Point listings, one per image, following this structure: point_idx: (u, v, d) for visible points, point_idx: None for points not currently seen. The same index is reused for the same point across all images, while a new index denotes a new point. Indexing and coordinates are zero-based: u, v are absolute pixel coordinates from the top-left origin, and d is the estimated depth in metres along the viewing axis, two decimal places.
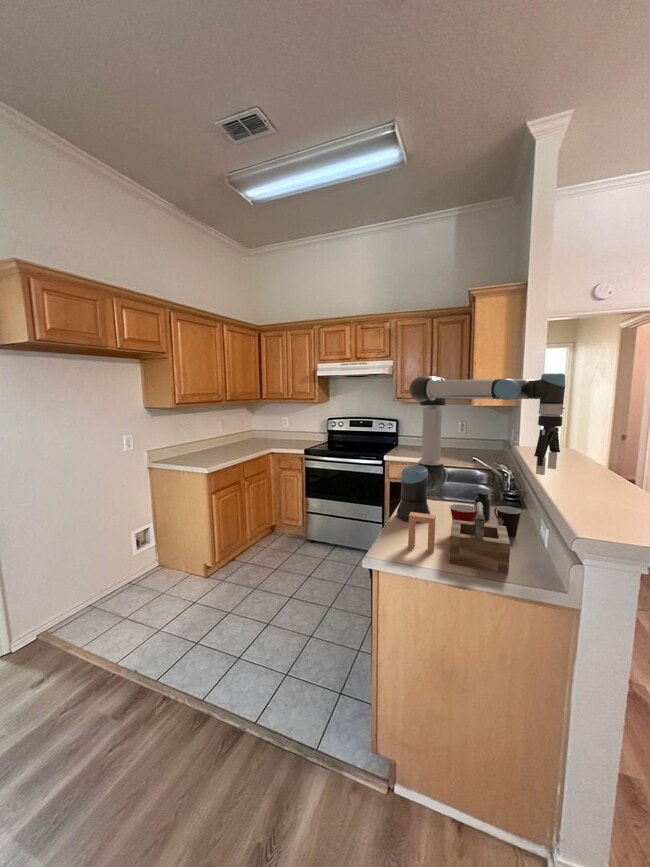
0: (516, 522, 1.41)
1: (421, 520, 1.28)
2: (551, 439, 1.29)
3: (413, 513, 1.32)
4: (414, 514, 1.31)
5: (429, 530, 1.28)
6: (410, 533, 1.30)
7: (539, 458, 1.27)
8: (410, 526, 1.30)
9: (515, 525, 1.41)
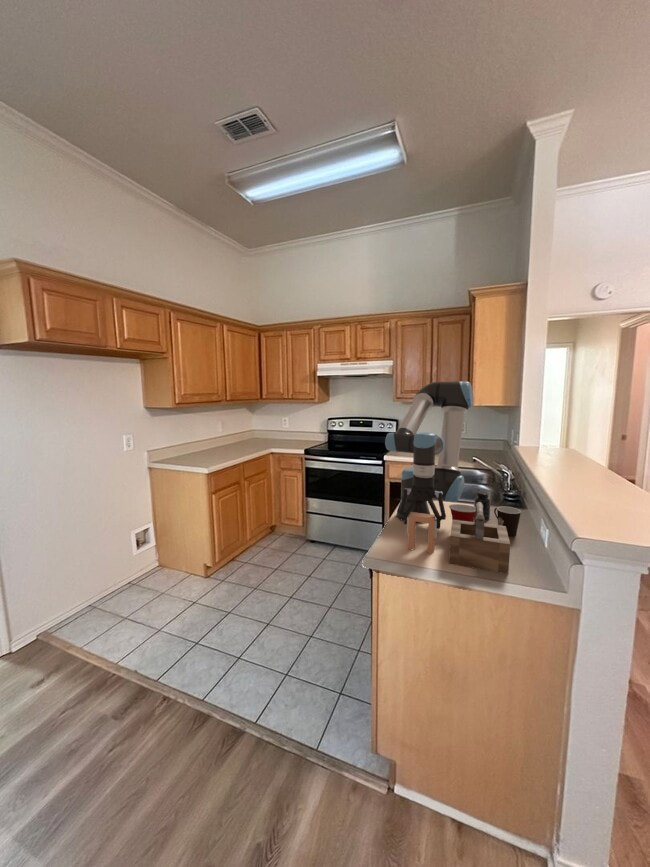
0: (516, 522, 1.41)
1: (421, 520, 1.28)
2: (415, 499, 1.29)
3: (413, 513, 1.32)
4: (414, 514, 1.31)
5: (429, 530, 1.28)
6: (410, 533, 1.30)
7: None
8: (410, 526, 1.30)
9: (515, 525, 1.41)
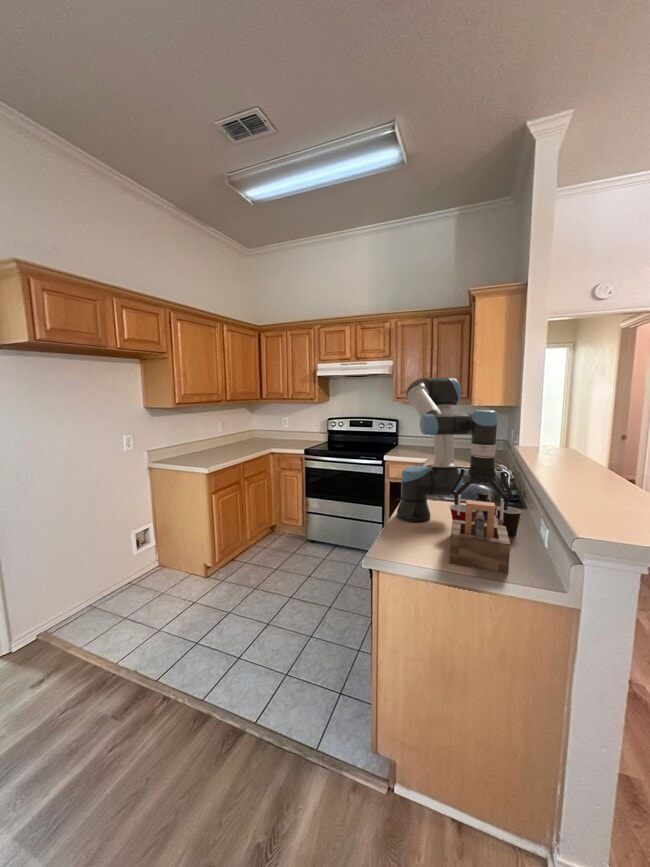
0: (516, 522, 1.41)
1: (480, 508, 1.20)
2: (472, 480, 1.20)
3: (470, 501, 1.23)
4: (471, 502, 1.22)
5: (489, 519, 1.19)
6: (467, 522, 1.22)
7: None
8: (467, 515, 1.22)
9: (515, 525, 1.41)
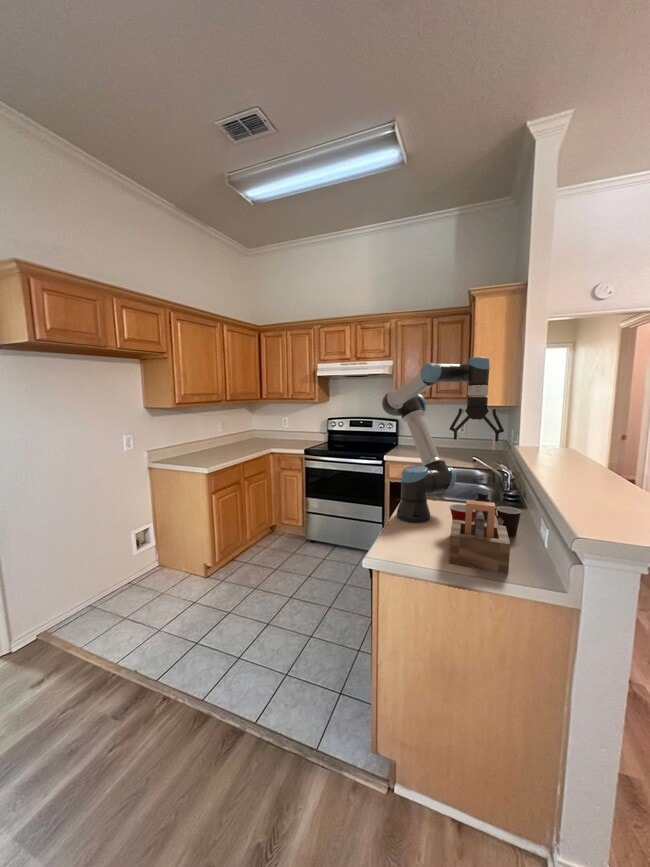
0: (516, 522, 1.41)
1: (480, 508, 1.20)
2: (468, 417, 1.43)
3: (470, 501, 1.23)
4: (471, 502, 1.22)
5: (489, 519, 1.19)
6: (467, 522, 1.22)
7: (454, 432, 1.47)
8: (467, 515, 1.22)
9: (515, 525, 1.41)
